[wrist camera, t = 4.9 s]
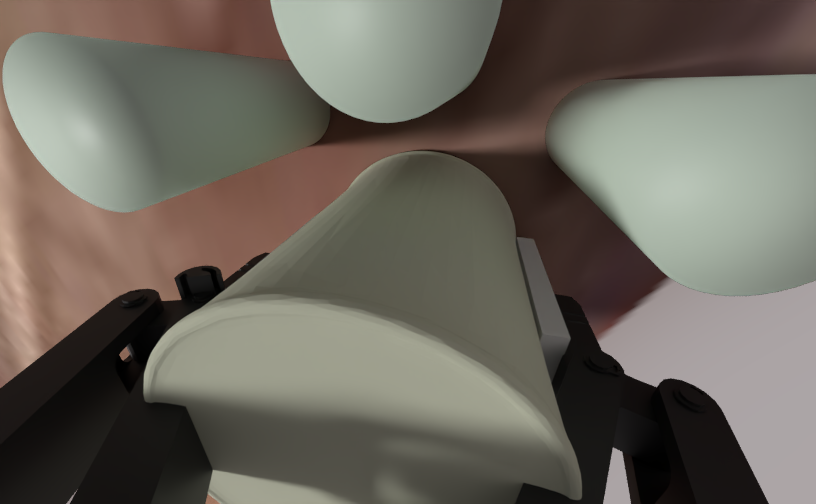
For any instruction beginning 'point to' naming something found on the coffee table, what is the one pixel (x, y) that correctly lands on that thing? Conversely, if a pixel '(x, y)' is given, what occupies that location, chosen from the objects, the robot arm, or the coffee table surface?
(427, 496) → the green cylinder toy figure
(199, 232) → the coffee table surface
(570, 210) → the coffee table surface
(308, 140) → the posts
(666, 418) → the robot arm
